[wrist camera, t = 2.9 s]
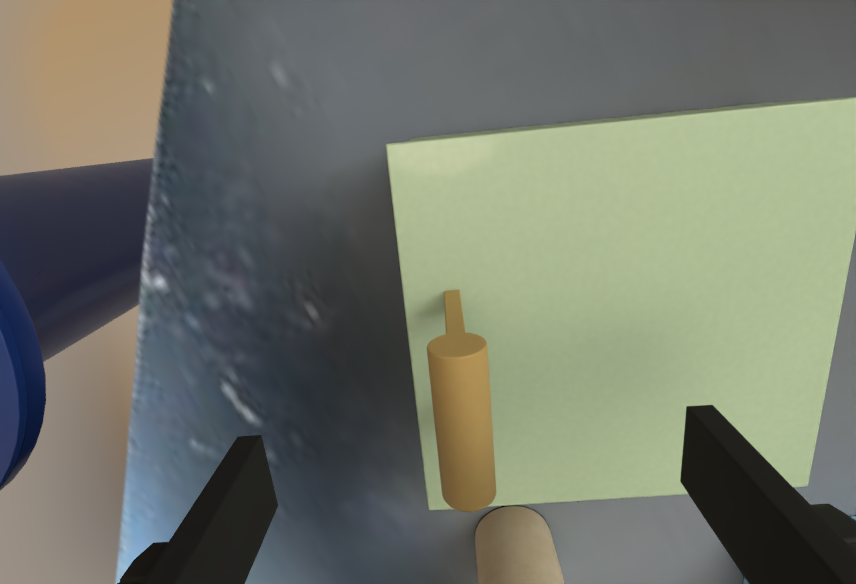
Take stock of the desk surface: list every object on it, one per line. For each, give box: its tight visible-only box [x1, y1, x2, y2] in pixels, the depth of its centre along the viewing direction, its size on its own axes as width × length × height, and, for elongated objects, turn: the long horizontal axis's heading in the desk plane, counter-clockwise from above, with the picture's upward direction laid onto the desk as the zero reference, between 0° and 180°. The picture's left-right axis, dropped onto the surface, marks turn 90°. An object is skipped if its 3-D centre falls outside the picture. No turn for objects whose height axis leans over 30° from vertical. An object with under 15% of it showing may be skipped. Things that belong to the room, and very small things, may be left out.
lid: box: [386, 97, 856, 512], centre depth 19 cm, size 19×19×8 cm
